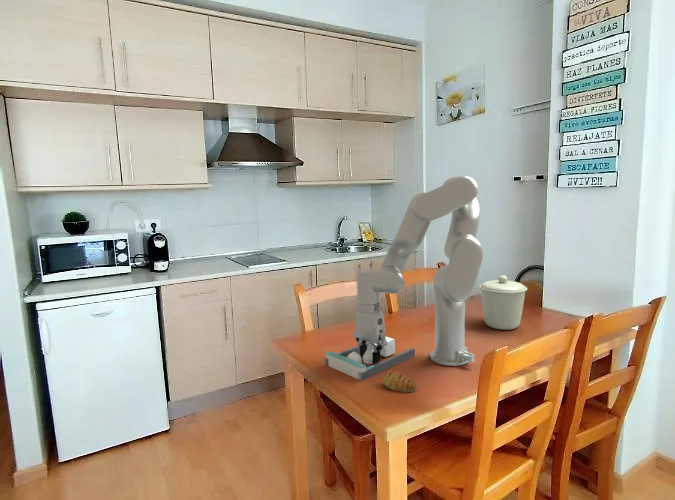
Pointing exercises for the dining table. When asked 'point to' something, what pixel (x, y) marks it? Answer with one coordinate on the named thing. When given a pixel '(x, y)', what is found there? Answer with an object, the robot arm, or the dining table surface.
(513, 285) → the canister
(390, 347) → the container set
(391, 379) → the pastry
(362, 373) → the rail guide
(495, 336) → the dining table surface
